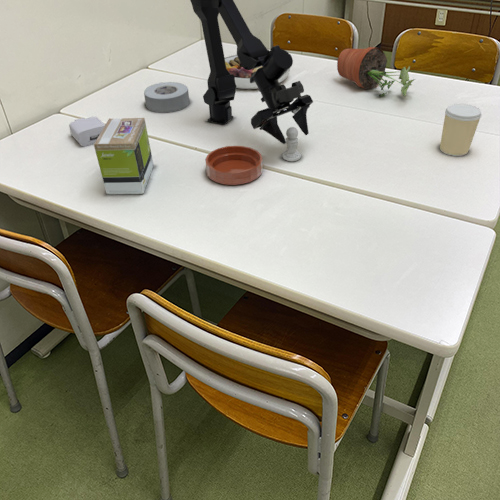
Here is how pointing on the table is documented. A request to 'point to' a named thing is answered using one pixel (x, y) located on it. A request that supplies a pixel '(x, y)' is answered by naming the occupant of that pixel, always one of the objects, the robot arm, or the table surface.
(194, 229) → the table surface
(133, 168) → the tea box
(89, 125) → the charger
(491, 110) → the table surface
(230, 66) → the bowl
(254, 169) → the bowl
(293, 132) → the chess piece
